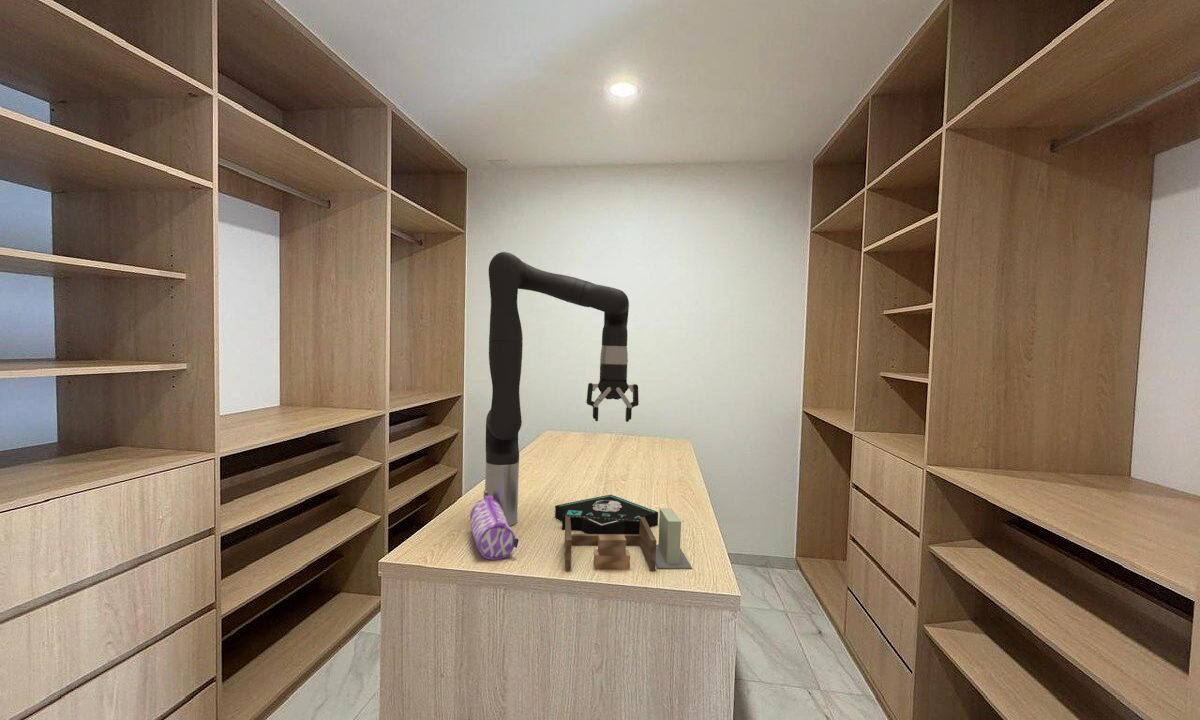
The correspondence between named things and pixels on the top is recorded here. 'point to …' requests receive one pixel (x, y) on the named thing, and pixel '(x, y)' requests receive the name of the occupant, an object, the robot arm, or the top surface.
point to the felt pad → (663, 565)
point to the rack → (642, 539)
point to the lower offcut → (612, 561)
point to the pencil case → (491, 529)
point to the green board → (669, 535)
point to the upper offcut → (611, 545)
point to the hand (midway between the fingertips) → (611, 421)
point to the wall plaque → (605, 515)
